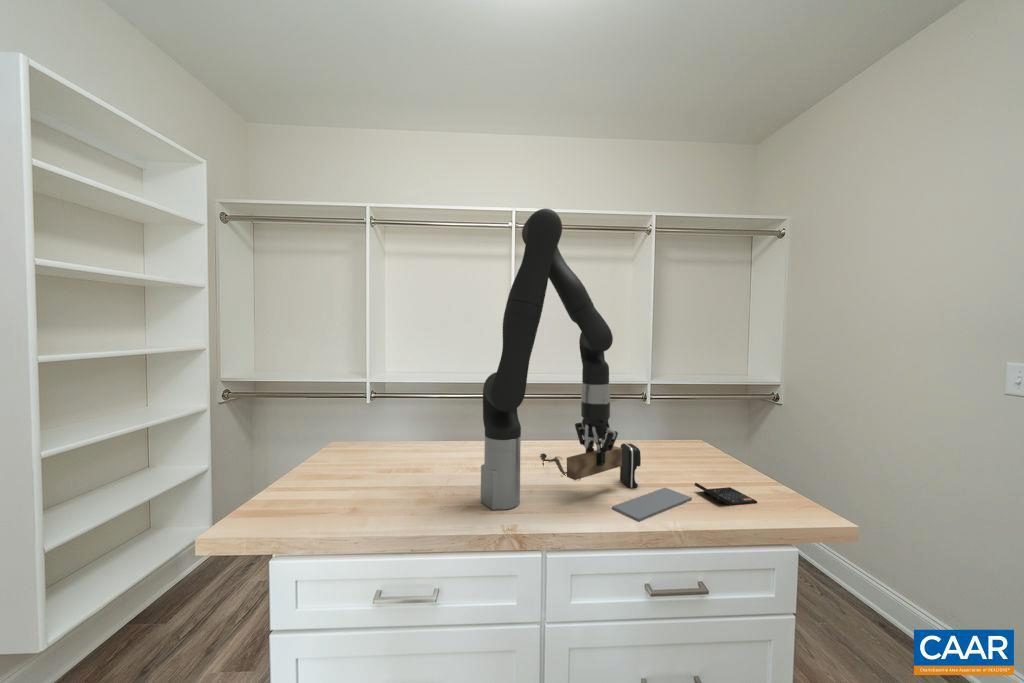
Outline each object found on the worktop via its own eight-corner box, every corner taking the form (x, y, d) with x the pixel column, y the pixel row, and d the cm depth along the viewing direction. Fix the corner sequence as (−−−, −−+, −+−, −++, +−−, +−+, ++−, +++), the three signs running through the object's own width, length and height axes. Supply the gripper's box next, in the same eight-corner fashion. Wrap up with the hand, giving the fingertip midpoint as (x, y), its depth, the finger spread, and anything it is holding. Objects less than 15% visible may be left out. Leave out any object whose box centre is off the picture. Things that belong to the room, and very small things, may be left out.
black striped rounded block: (641, 488, 111) (642, 448, 111) (628, 489, 111) (629, 448, 111) (631, 479, 118) (632, 441, 118) (619, 479, 118) (620, 441, 118)
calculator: (757, 504, 103) (757, 493, 103) (718, 508, 100) (718, 496, 100) (729, 490, 112) (730, 479, 112) (694, 493, 109) (694, 482, 109)
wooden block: (574, 480, 100) (574, 460, 100) (566, 476, 102) (566, 457, 102) (621, 465, 110) (621, 448, 110) (613, 463, 112) (613, 445, 112)
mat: (638, 521, 92) (638, 519, 92) (611, 508, 98) (611, 506, 98) (691, 499, 104) (691, 497, 104) (664, 489, 111) (665, 487, 111)
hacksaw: (539, 456, 140) (539, 452, 140) (568, 456, 140) (568, 452, 140) (546, 482, 116) (547, 477, 116) (581, 482, 116) (581, 477, 116)
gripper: (567, 397, 109) (566, 459, 110) (606, 405, 98) (605, 474, 98) (586, 395, 113) (586, 454, 114) (626, 402, 102) (625, 468, 102)
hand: (595, 463), depth 106 cm, fingers closed on wooden block, 3 cm apart
